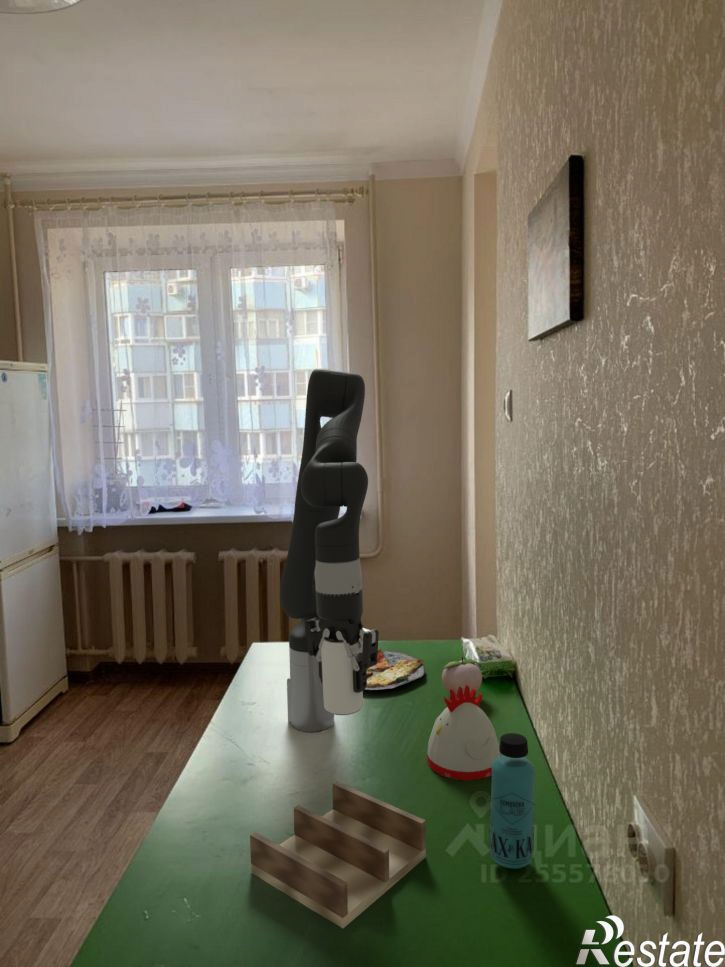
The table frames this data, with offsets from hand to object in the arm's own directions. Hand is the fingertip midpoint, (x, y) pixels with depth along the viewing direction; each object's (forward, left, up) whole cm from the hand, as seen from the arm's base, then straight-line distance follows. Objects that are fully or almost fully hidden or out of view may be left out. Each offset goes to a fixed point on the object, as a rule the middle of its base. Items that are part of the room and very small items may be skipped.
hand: (343, 686), depth 119 cm
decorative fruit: (-9, +52, -23) cm, 57 cm away
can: (0, 0, -4) cm, 4 cm away
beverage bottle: (+28, +6, -23) cm, 36 cm away
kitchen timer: (+6, +28, -23) cm, 37 cm away
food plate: (-34, +51, -23) cm, 66 cm away
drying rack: (+8, -10, -23) cm, 26 cm away
